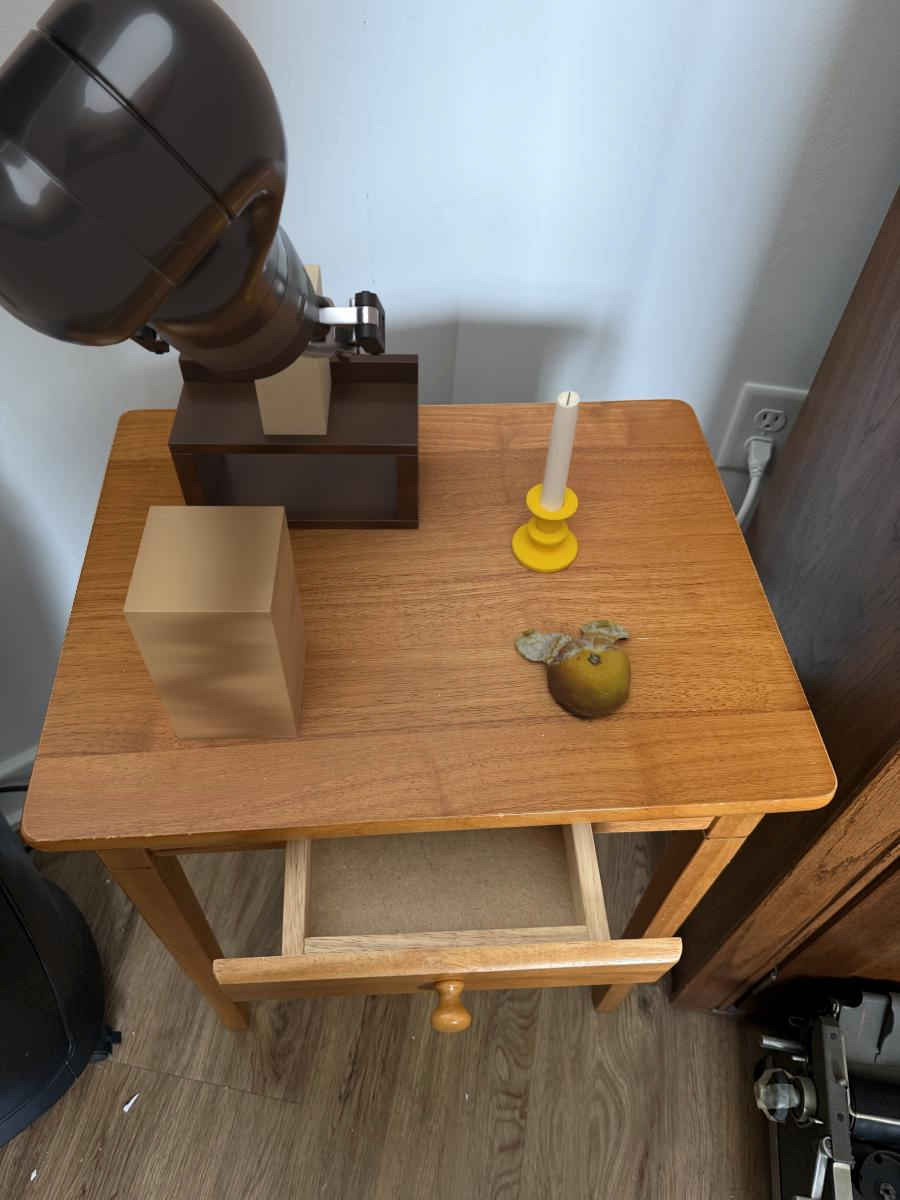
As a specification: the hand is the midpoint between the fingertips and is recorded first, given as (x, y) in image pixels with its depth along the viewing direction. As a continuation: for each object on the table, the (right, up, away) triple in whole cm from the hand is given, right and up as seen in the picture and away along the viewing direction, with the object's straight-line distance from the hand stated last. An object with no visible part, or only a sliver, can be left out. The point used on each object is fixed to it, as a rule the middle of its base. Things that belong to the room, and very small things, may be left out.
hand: (280, 345), depth 59 cm
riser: (-3, -23, +3) cm, 23 cm away
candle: (+19, -13, +12) cm, 26 cm away
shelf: (0, -8, +15) cm, 17 cm away
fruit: (+21, -22, +5) cm, 30 cm away
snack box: (0, -3, +8) cm, 8 cm away
